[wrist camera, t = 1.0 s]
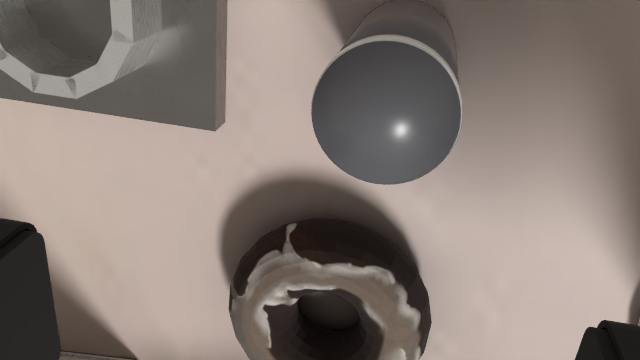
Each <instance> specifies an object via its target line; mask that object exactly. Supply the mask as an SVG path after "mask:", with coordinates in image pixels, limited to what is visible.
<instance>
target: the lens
mask: <svg viewBox="0 0 640 360" xmlns="http://www.w3.org/2000/svg"><path fill="white" fill-rule="evenodd" d="M311 114H312V123H313V128H314V132H315V135H316V137H317V140H318V142H319V144H320V146H321V148H322V149H323V151H324V152H325V154H326V155H327V156H328V157H329V159H330V160H331V161H332V162H333V163H334V164H335V165H337V166H338V167H339V168H340V169H341V170H343V171H344V172H346V173H347V174H349V175H351V176H353V177H355V178H357V179H360V180H363V181H366V182H370V183H375V184H384V185H385V184H400V183H405V182H409V181H412V180H415V179H417V178H420V177H422V176H424V175H425V174H427V173H429V172H430V171H432V170H433V169H434V168H436V167H437V166H438V165H439V164H440V163H441V162H442V161H443V160H444V159H445V158H446V156H447V155H448V154H449V153H450V151H451V149H452V148H453V146H454V145H455V142H456V140H457V138H458V135H459V132H460V128H461V123H462V99H461V92H460V88H459V81H458V69H457V57H456V46H455V39H454V35H453V32H452V30H451V28H450V26H449V24H448V22H447V21H446V19H445V18H444V17H443V16H442V15H441V14H440V13H439V12H438V11H437V10H435V9H434V8H432V7H431V6H429V5H427V4H425V3H422V2H419V1H415V0H395V1H390V2H388V3H385V4H383V5H381V6H379V7H377V8H376V9H374V10H373V11H371V12H370V13H369V14H368V15H367V16H366V17H365V19H364V20H363V21H362V22H361V24H360V25H359V26H358V28H357V29H356V30H355V32H354V33H353V34H352V36H351V37H350V38H349V40H348V41H347V43H346V44H345V45H344V47H343V48H342V49H341V51H340V52H339V53H338V54H337V55H336V56H335V57H334V58H333V60H332V61H331V62H330V63H329V64H328V66H327V67H326V68H325V70H324V71H323V73H322V74H321V76H320V78H319V80H318V82H317V84H316V87H315V90H314V94H313V98H312V109H311Z"/></svg>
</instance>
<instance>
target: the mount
mask: <svg viewBox="0 0 640 360" xmlns="http://www.w3.org/2000/svg"><path fill="white" fill-rule="evenodd" d="M226 38H227V0H0V98H5V99H12V100H18V101H25V102H31V103H37V104H44V105H50V106H57V107H63V108H69V109H76V110H82V111H89V112H95V113H102V114H108V115H114V116H121V117H127V118H134V119H140V120H146V121H153V122H159V123H166V124H172V125H179V126H185V127H191V128H198V129H204V130H211V131H216V130H217V129H218V128H219V127H220V126H221V125H222V124H223V123H224V122H225V93H226Z"/></svg>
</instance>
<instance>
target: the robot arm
mask: <svg viewBox="0 0 640 360" xmlns="http://www.w3.org/2000/svg"><path fill="white" fill-rule="evenodd" d="M60 353H61V347H60V340H59V334H58V327H57V321H56V314H55V308H54V301H53V295H52V288H51V282H50V275H49V269H48V262H47V256H46V249H45V243H44V239H43V236H42V235H41V234H40V233H37V230H36V228H35V227H34V225H32V224H30V223H26V222H20V221H14V220H8V219H3V218H1V219H0V360H59V358H60ZM575 360H640V318H639V323H638V326H637V325H632V324H626V323H620V322H614V321H608V320H603V321H601V322H600V324H599V325H598V327H597V328H594V327H588V328H587V329H586V331H585V333H584V335H583V338H582V341H581V344H580V347H579V350H578V353H577V355H576V358H575Z"/></svg>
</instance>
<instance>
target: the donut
mask: <svg viewBox="0 0 640 360" xmlns="http://www.w3.org/2000/svg"><path fill="white" fill-rule="evenodd" d="M312 292H327V293H331V294H334V295H337V296H340V297H342V298H344V299H345V300H347V301H348V302H350V303H351V304H352V305H353V306H354V307H355V308H356V310H357V312H358V314H359V317H360V320H359V322H358V324H357V325H355V326H354V327H352V328H350V329H348V330H342V331H333V330H326V329H323V328H320V327H317V326H315V325H314V324H312V323H310V322H309V321H307V320H306V319H305V318H304V317H303V316H302V314H301V312H300V311H299V309H298V305H297V303H298V300H299V298H300V297H301V296H304V295H306V294H308V293H312ZM229 312H230V317H231V320H232V324H233V328H234V331H235V335H236V338H237V339H238V341H239V343H240V344H241V346H242V348H243V349H244V351H245V352H246V354H247V356H248V357H249V358H250V359H251V360H419V359H420V357H421V356H422V354H423V353H424V350H425V347H426V343H427V339H428V335H429V331H430V327H431V323H432V322H431V314H430V305H429V297H428V292H427V290H426V288H425V286H424V284H423V282H422V279H421V277H420V275H419V273H418V271H417V269H416V267H415V266H414V265H413V264H412V263H411V262H410V261H409V260H408V259H407V257H406V256H405V255H404V254H403V253H402V252H401V251H400V250H399V249H398V248H397V247H396V246H395V245H394V244H393V243H391V242H389V241H388V240H386V239H385V238H383V237H382V236H380V235H378V234H377V233H375V232H374V231H372V230H371V229H368V228H365V227H361V226H358V225H355V224H352V223H349V222H346V221H342V220H328V219H311V220H306V221H301V222H296V223H291V224H286V225H283V226H282V227H280V228H278V229H276V230H274V231H272V232H270V233H268V234H266V235H265V236H263V237H261V239H260V240H259V241H258V242H257V243H256V244H255V245H254V246H253V247H252V248H251V249H250V250H249V251H248V252H247V253H246V254H245V255H244V256H243V257H242V258H241V261H240V263H239V265H238V267H237V270H236V272H235V274H234V277H233V279H232V282H231V285H230V298H229Z"/></svg>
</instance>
